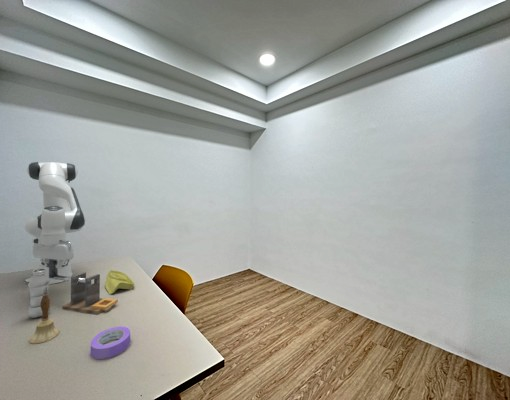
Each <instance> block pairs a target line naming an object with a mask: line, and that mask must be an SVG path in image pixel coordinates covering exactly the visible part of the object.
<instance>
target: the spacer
mask: <svg viewBox="0 0 510 400" xmlns="http://www.w3.org/2000/svg"><path fill="white" fill-rule="evenodd" d="M102 299H103V300H101V301H99V302H97V303H96V304H94V305H92V308H94V309H104V311H105V310H108V309H109V308H111V307H112V306H114V305H115V303H116V304H117V303H118V302H119V300H118V299H117V298H116V299H114V298H102ZM103 303H108V304H107V305H102V304H103Z"/></svg>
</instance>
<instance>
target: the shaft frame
mask: <svg viewBox="0 0 510 400" xmlns="http://www.w3.org/2000/svg"><path fill="white" fill-rule="evenodd" d="M77 278H86V279H85V283H80V282H77ZM92 281H93V283H92ZM100 285H101V275H100V274H99V273H96V274H94V275H91V276H89V277H87V272H81V273H78V274H76V275H72V277H71V281H70V302H68V303H66V304H64V305H62V306H61V307H62V308H61V309H62V310H65V311H72V312H77V313H84V314H90V315H100V314H102V312H104V311H105V310H104V309H94V308H92V305H94V304H96V303H97V302H99V301H101V300H103V299H104V298H102V297H100V295H101V294H100V293H101V291H100V289H101V287H100ZM107 304H108V303H103V304H102V305H107ZM115 304H117V303H115ZM115 304H114V305H115Z"/></svg>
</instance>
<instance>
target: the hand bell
mask: <svg viewBox="0 0 510 400" xmlns="http://www.w3.org/2000/svg"><path fill="white" fill-rule="evenodd" d="M40 306H41V310H42V316H41V321H39V322H38V323H37V324H36V329H35V332H34V334H32V335H31V337H30V338H29V339H28V343H29V344H32V345H33V344H34V345H35V344H36V345H37V344H42V343H45V342H48V341H50V340H53V339H54V338H56V337H57V336H58V335H59V334H60V332H61V330H60V329H59V328H58V327H56V326H55V324H54V323H55V322H54V319H51V318H49V312H48V309H49V306H50V307H51V299H50V297H49V293H48V294H44V295H43V297H42V299H41V303H40Z"/></svg>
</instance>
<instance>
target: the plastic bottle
mask: <svg viewBox="0 0 510 400" xmlns="http://www.w3.org/2000/svg"><path fill="white" fill-rule="evenodd" d="M32 271H33V270H32ZM45 274H46V272H45V269H38V270H35V271H33V276H34V277H33V278H32V279H31V280H30V282H29V283H27V285H28V291H29V296H30V303H29V308H28V312H27V313H28V316H29V318H32V319H36V318H42V310H41V306H40V303H41V299H42V297H43V295H44V294H48V295H49V288H50V284H49V283H50V280H49V278H48V277H47V276H46V275H45ZM50 309H51V305H50V306H49V309H48V313H49V312H50Z"/></svg>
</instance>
